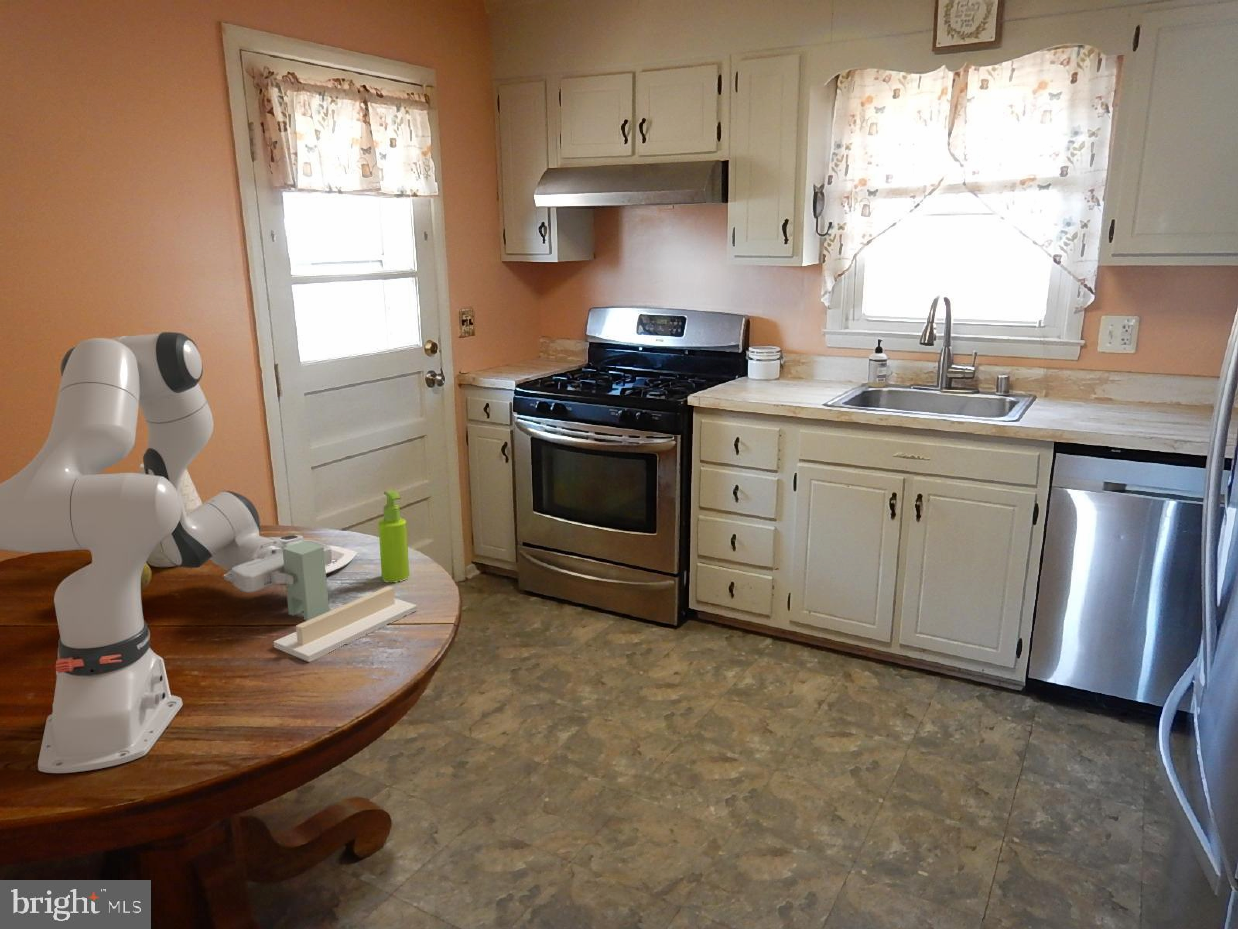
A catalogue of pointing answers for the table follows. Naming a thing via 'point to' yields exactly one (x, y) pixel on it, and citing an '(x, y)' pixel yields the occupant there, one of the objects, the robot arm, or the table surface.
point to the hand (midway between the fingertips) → (308, 574)
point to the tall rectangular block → (306, 579)
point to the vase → (190, 503)
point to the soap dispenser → (393, 541)
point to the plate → (340, 558)
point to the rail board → (344, 633)
